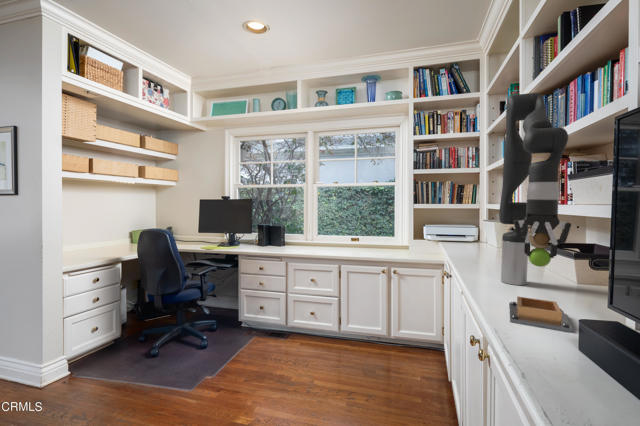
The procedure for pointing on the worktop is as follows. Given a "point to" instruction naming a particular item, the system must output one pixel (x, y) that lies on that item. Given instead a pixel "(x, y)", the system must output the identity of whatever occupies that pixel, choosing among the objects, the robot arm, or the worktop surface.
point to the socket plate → (539, 314)
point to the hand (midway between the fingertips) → (539, 256)
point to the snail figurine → (539, 249)
